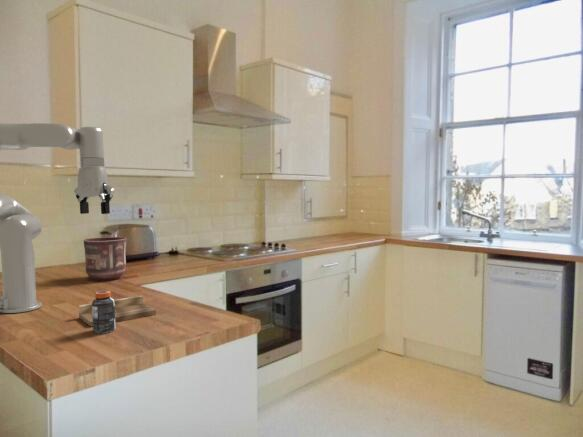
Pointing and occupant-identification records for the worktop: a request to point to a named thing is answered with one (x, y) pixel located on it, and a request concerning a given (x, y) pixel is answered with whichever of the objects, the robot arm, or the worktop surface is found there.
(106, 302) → the pill bottle
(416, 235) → the worktop surface
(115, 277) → the pottery
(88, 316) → the board
